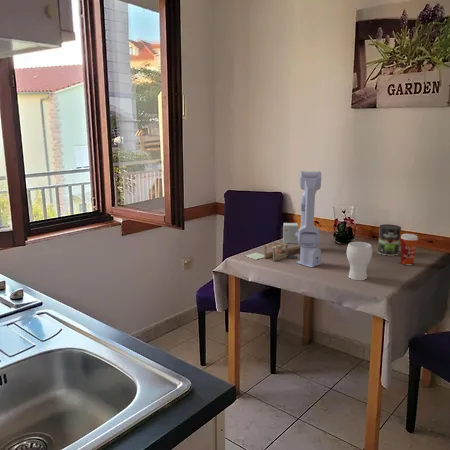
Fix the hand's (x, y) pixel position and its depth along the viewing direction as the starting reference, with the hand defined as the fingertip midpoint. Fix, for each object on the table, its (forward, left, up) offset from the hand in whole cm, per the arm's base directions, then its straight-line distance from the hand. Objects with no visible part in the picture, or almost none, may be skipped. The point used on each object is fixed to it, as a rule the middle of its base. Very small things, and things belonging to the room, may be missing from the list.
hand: (305, 247), depth 242 cm
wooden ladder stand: (0, +23, -1) cm, 23 cm away
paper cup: (-48, -17, -1) cm, 51 cm away
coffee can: (-33, -26, -1) cm, 42 cm away
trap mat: (-5, +16, -1) cm, 17 cm away
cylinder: (0, +21, -1) cm, 21 cm away
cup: (-43, +17, -1) cm, 46 cm away
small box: (+14, -4, -1) cm, 15 cm away
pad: (+8, +29, -1) cm, 30 cm away
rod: (0, +10, -1) cm, 10 cm away
